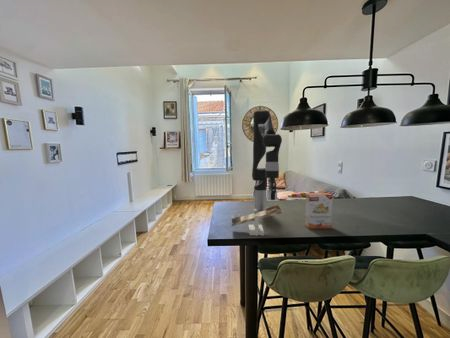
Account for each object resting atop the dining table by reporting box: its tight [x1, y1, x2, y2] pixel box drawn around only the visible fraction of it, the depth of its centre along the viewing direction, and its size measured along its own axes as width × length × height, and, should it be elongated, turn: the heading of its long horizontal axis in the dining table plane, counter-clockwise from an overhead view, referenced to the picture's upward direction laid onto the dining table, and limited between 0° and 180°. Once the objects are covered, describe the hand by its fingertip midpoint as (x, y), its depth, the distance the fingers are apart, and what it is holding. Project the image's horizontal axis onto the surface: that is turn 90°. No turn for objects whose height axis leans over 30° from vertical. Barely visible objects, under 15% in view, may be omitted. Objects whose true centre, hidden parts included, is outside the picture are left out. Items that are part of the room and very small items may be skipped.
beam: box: [230, 204, 282, 227], centre depth 127 cm, size 29×9×4 cm, turn 86°
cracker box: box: [304, 192, 334, 230], centre depth 130 cm, size 14×6×21 cm, turn 91°
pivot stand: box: [248, 208, 265, 237], centre depth 127 cm, size 8×13×12 cm, turn 176°
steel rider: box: [267, 189, 278, 201], centre depth 125 cm, size 5×5×5 cm
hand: (272, 198), depth 125 cm, fingers closed on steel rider, 5 cm apart
